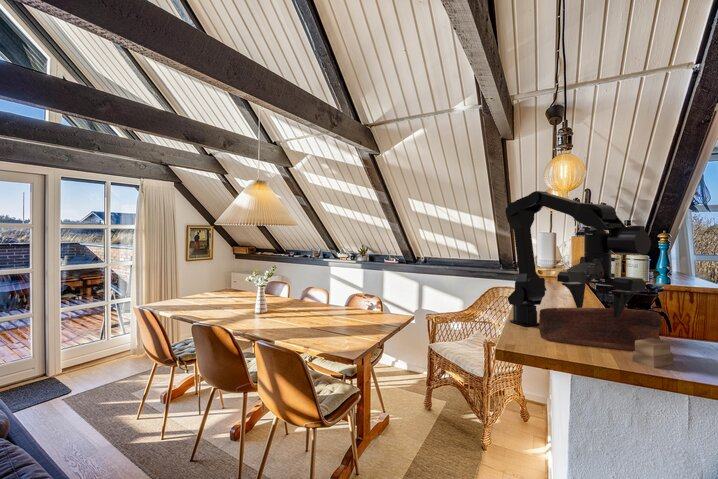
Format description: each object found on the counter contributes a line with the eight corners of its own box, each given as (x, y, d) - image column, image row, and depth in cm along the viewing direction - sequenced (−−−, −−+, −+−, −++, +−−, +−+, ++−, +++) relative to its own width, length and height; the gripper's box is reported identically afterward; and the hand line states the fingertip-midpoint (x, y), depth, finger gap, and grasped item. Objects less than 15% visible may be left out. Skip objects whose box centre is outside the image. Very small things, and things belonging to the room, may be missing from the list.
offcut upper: (634, 351, 74) (634, 340, 74) (651, 348, 76) (651, 337, 76) (653, 356, 71) (653, 345, 71) (670, 353, 73) (670, 342, 73)
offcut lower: (632, 362, 74) (632, 351, 74) (652, 358, 76) (652, 348, 76) (653, 369, 70) (653, 357, 70) (673, 364, 73) (673, 353, 73)
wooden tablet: (539, 341, 88) (539, 304, 88) (538, 339, 90) (538, 302, 91) (665, 354, 79) (664, 312, 79) (660, 351, 81) (660, 310, 81)
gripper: (542, 252, 90) (542, 308, 91) (615, 255, 73) (615, 325, 73) (571, 251, 94) (571, 305, 94) (647, 254, 77) (646, 321, 77)
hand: (597, 313), depth 85 cm, fingers open, 9 cm apart
